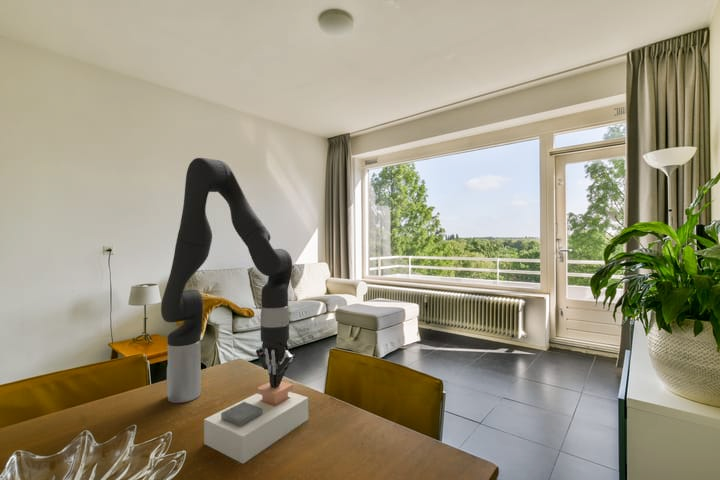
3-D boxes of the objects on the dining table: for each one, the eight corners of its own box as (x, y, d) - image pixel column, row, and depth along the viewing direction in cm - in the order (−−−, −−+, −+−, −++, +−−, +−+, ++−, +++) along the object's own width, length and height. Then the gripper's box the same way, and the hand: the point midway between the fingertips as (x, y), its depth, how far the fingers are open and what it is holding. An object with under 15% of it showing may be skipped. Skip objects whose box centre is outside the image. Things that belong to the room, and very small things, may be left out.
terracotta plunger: (256, 411, 93) (256, 388, 93) (275, 401, 99) (275, 379, 99) (275, 418, 89) (274, 394, 89) (293, 407, 95) (293, 384, 95)
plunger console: (204, 443, 84) (204, 419, 84) (271, 406, 102) (271, 386, 102) (243, 463, 76) (242, 436, 76) (308, 419, 95) (308, 397, 95)
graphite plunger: (221, 439, 83) (221, 413, 83) (244, 426, 89) (244, 401, 89) (239, 448, 80) (239, 420, 80) (262, 434, 86) (262, 408, 86)
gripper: (247, 322, 94) (247, 386, 94) (282, 329, 87) (283, 397, 87) (268, 317, 100) (268, 376, 100) (302, 322, 93) (302, 386, 93)
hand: (275, 386), depth 94 cm, fingers closed
